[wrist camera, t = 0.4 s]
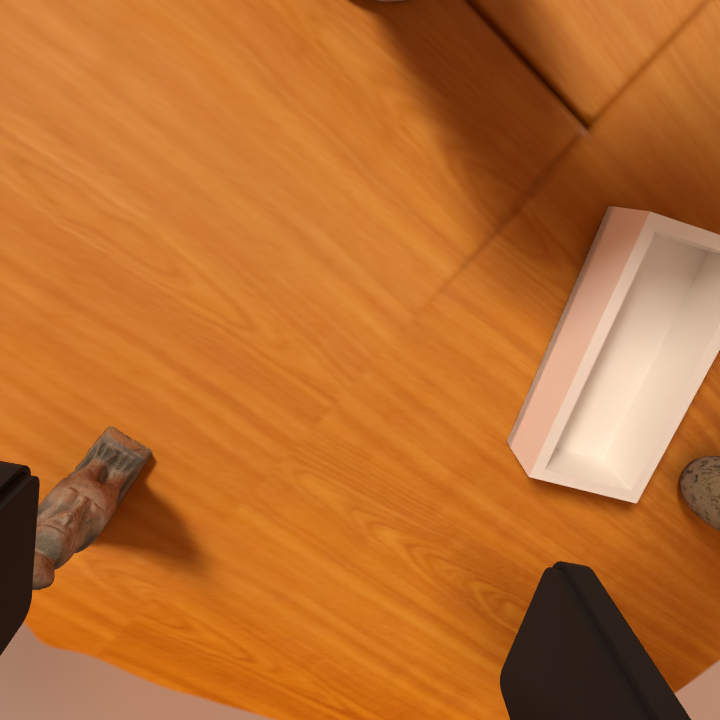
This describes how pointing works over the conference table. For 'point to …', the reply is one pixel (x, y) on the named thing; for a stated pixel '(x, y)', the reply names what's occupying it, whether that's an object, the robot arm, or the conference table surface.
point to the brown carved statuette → (85, 502)
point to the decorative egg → (703, 488)
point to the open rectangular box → (623, 356)
